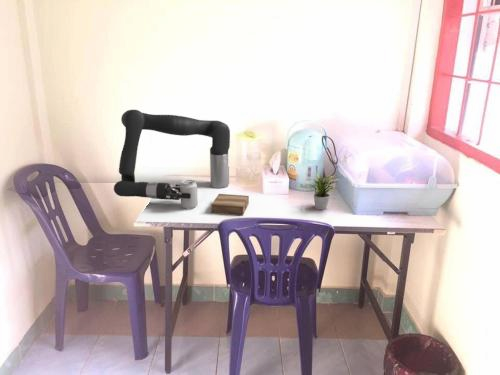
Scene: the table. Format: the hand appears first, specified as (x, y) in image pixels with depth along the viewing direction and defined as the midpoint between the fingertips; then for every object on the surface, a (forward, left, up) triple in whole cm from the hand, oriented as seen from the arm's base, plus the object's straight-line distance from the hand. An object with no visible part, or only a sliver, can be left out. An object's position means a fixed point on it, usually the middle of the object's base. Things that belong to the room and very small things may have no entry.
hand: (193, 193), depth 194 cm
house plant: (-28, +50, -7) cm, 58 cm away
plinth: (-7, +15, -7) cm, 18 cm away
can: (+1, -2, -7) cm, 7 cm away
